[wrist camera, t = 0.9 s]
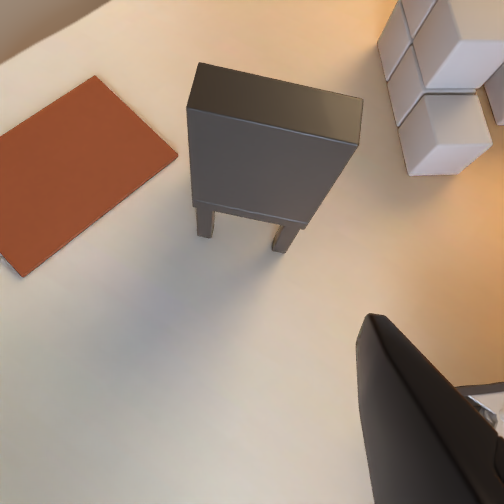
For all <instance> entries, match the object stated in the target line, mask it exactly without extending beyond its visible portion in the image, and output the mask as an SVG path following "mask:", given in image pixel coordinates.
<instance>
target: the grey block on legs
mask: <svg viewBox="0 0 504 504" xmlns="http://www.w3.org/2000/svg"><path fill="white" fill-rule="evenodd" d="M362 109H363V99H361V98H356V97H352V96H348V95H343V94H339V93H334V92H330V91H325V90H321V89H317V88H312V87H308V86H303V85H299V84H294V83H290V82H285V81H281V80H277V79H272V78H268V77H263V76H259V75H254V74H250V73H245V72H241V71H237V70H232V69H228V68H223V67H219V66H214V65H210V64H206V63H201V62H199V63H198V66H197V70H196V74H195V77H194V81H193V85H192V88H191V92H190V96H189V99H188V103H187V106H186V111H187V127H188V142H189V158H190V174H191V189H192V204H193V207H196V214H197V235H198V236H202V237H207V238H211V237H212V233H213V228H214V217H215V211H216V212H220V213H225V214H230V215H235V216H240V217H245V218H249V219H254V220H259V221H264V222H269V223H274V224H279V225H280V227H279V229H278V231H277V233H276V235H275V237H274V241H273V247H272V250H273V251H276V252H281V253H286V251H287V250H288V248H289V246H290V245H291V243H292V241H293V240H294V238H295V237H296V235H297V233H298V232H299V230H300V229H303V230H304V229H305V228H306V226H307V225H308V223H309V222H310V220H311V218H312V217H313V215H314V214H315V212H316V211H317V209H318V208H319V206H320V205H321V203H322V201H323V200H324V198H325V197H326V195H327V194H328V192H329V191H330V189H331V188H332V186H333V184H334V183H335V181H336V180H337V178H338V177H339V175H340V174H341V172H342V170H343V169H344V167H345V166H346V164H347V163H348V161H349V160H350V158H351V157H352V155H353V153H354V152H355V150H356V149H357V147H358V146H359V139H360V129H361V119H362Z"/></svg>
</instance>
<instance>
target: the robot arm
mask: <svg viewBox="0 0 504 504" xmlns="http://www.w3.org/2000/svg"><path fill="white" fill-rule="evenodd" d="M356 364H357V384H358V403H359V412H360V419H361V425H362V431H363V437H364V443H365V449H366V455H367V461H368V467H369V473H370V479H371V485H372V491H373V497H374V503H375V504H504V438H503V437H502V436H498V432H497V431H496V430H495V429H494V428H493V427H492V426H491V425H490V424H489V423H488V422H487V421H486V420H485V418H484V417H483V416H482V415H481V414H480V413H479V412H478V411H477V410H476V409H475V408H474V407H473V406H472V405H471V404H470V403H469V402H468V401H467V400H466V399H465V398H464V397H463V396H462V395H461V394H460V392H459V391H458V390H457V389H456V388H455V387H454V386H453V385H452V384H451V383H450V382H449V381H448V380H447V379H446V378H445V377H444V376H443V375H442V374H441V373H440V372H439V371H438V370H437V369H436V368H435V366H434V365H433V364H432V363H431V362H430V361H429V360H428V359H427V358H426V357H425V356H424V355H423V354H422V353H421V352H420V351H419V350H418V349H417V348H416V347H415V346H414V345H413V344H412V343H411V342H410V340H409V339H408V338H407V337H406V336H405V335H404V334H403V333H402V332H401V331H400V330H399V329H398V328H397V327H396V326H395V325H394V324H393V323H392V322H391V321H390V320H389V319H388V318H387V317H386V316H384V315H379V314H372V313H369V314H367V315H366V317H365V319H364V321H363V324H362V326H361V329H360V332H359V334H358V337H357V341H356Z"/></svg>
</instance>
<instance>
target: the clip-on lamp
mask: <svg viewBox="0 0 504 504" xmlns="http://www.w3.org/2000/svg"><path fill="white" fill-rule="evenodd" d="M455 388H456V389H457V390H458V391H459V392H460V394H461V395H462V396H463V397H464V398H465V399H466V400H467V401H468V402H469V403H470V404H471V405H472V406H473V407H474V408H475V409H476V410H477V411H478V412H479V413H480V414H481V415H482V416H483V417H484V418H485V420H486V421H487V422H488V423H489V424H490V425H491V426H492V427H493V428H494V429H495V430H496V431H497V432H498V436H502V437H503V438H504V382H498V383H492V384H486V385H468V386H459V387H455ZM479 404H480V405H482V406H478V405H479Z"/></svg>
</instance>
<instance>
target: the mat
mask: <svg viewBox="0 0 504 504" xmlns="http://www.w3.org/2000/svg"><path fill="white" fill-rule="evenodd" d="M177 157H178V154H177V153H176V152H175V151H174V150H173V149H172V148H171V147H170V146H169V145H168V144H167V143H166V142H164V141H163V140H162V139H161V138H160V137H159V136H158V135H157V134H156V133H155V132H154V131H153V130H152V129H151V128H150V127H149V126H148V125H147V124H146V123H145V122H144V121H142V120H141V119H140V118H139V117H138V116H137V115H136V114H135V113H134V112H133V111H132V110H131V109H130V108H129V107H128V106H127V105H126V104H125V103H124V102H123V101H122V100H120V99H119V98H118V97H117V96H116V95H115V94H114V93H113V92H112V91H111V90H110V89H109V88H108V87H107V86H106V85H105V84H104V83H103V82H102V81H101V80H100V79H98V78H97V77H96V76H95V75H94V76H93V77H91V78H90V79H88V80H87V81H85V82H84V83H82V84H81V85H79V86H77V87H76V88H74V89H73V90H71V91H70V92H68V93H67V94H65V95H64V96H62V97H61V98H59V99H57V100H56V101H54V102H53V103H51V104H50V105H48V106H47V107H45V108H44V109H42V110H40V111H39V112H37V113H36V114H34V115H33V116H31V117H30V118H28V119H27V120H25V121H23V122H22V123H20V124H19V125H17V126H16V127H14V128H13V129H11V130H10V131H8V132H6V133H5V134H3V135H2V136H0V253H1V254H2V255H3V256H4V258H5V259H6V260H7V261H8V262H9V263H10V264H11V265H12V266H13V268H14V269H15V270H16V271H17V272H18V273H19V274H20V275H21V276H22V277H25V276H26V275H27V274H29V273H30V272H31V271H33V270H34V269H35V268H36V267H38V266H39V265H40V264H42V263H43V262H44V261H45V260H47V259H48V258H49V257H50V256H52V255H53V254H54V253H56V252H57V251H58V250H59V249H61V248H62V247H63V246H65V245H66V244H67V243H68V242H70V241H71V240H72V239H74V238H75V237H76V236H77V235H79V234H80V233H81V232H82V231H84V230H85V229H86V228H88V227H89V226H90V225H91V224H93V223H94V222H95V221H97V220H98V219H99V218H100V217H102V216H103V215H104V214H106V213H107V212H108V211H109V210H111V209H112V208H113V207H114V206H116V205H117V204H118V203H120V202H121V201H122V200H123V199H125V198H126V197H127V196H129V195H130V194H131V193H132V192H134V191H135V190H136V189H138V188H139V187H140V186H141V185H143V184H144V183H145V182H146V181H148V180H149V179H150V178H152V177H153V176H154V175H155V174H157V173H158V172H159V171H161V170H162V169H163V168H164V167H166V166H167V165H168V164H170V163H171V162H172V161H173V160H175V159H176V158H177Z"/></svg>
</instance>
